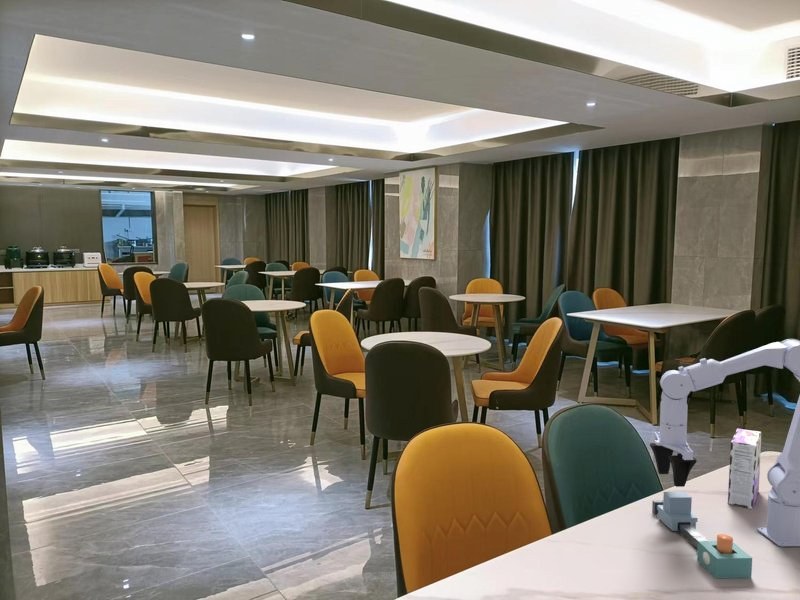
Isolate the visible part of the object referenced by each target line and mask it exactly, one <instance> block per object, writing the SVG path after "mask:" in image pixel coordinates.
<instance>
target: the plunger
mask: <svg viewBox="0 0 800 600" xmlns="http://www.w3.org/2000/svg"><path fill="white" fill-rule="evenodd" d="M716 541H717V548H716V550H717V551H718V552H719V553H721V554H732V548H733V543H734V538H733V537H732V536H730V535H729V534H726V533H725V534H724V533H718V534H717V536H716Z"/></svg>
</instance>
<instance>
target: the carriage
mask: <svg viewBox="0 0 800 600" xmlns="http://www.w3.org/2000/svg"><path fill="white" fill-rule="evenodd" d="M662 498H663V499H662V500H663V505H657V510H658V514H657V518H658V519H659V520H660V521H661V522H662V523H663V524H664V525H665V526H666V527H668V529H670V530H671V531H672V532H678V522H688V523H689V524H691V525H692V526H693V527H694V528H695V529H696V530H697V523H698V517H697V516H696V515H695V514H693V513H692V501H693V499H692V498H693V497H692V496H691V495H690V494H688V493H687V492H685V491H663V497H662Z"/></svg>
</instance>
